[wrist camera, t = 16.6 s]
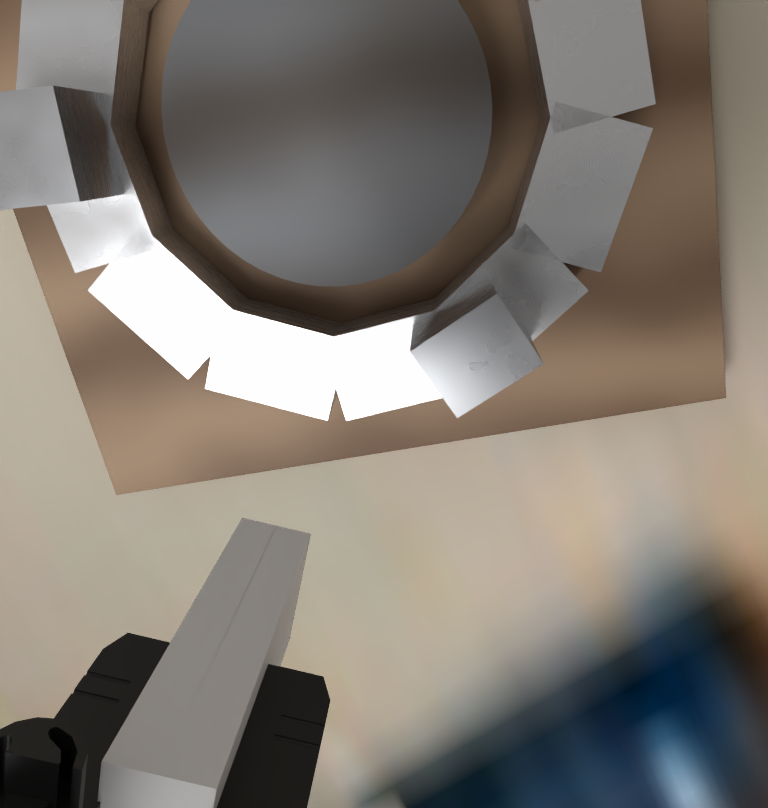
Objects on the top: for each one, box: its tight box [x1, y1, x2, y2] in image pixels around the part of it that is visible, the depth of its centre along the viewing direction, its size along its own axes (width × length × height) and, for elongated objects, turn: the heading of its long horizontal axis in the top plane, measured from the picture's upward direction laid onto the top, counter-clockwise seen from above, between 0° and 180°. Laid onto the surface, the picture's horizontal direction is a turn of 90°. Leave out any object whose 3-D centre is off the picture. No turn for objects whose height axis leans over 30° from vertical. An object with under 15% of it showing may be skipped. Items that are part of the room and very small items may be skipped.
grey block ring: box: [0, 0, 656, 421], centre depth 21 cm, size 19×19×5 cm
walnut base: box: [0, 0, 726, 495], centre depth 24 cm, size 24×24×4 cm
